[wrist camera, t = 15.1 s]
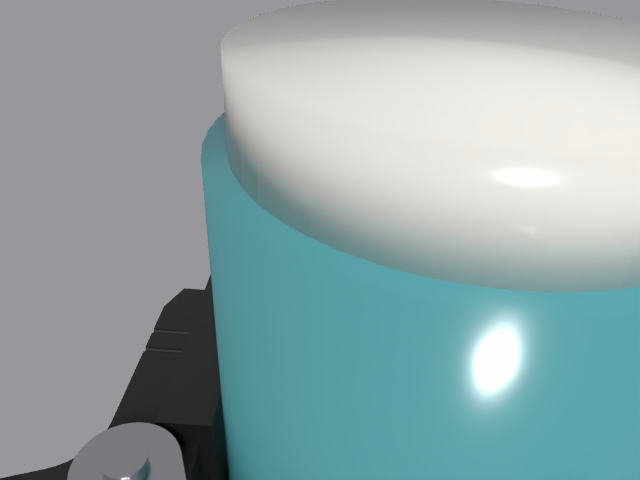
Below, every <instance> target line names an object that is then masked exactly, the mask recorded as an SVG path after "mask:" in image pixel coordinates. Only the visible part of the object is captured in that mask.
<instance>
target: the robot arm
mask: <svg viewBox="0 0 640 480" xmlns="http://www.w3.org/2000/svg"><path fill="white" fill-rule="evenodd" d="M0 480H229V477H228V465H227V454H226V442H225V431H224V419H223V407H222V396H221V384H220V373H219V361H218V350H217V338H216V327H215V315H214V304H213V292H212V280H211V275H210V278H209V280H208V283H207V286H206V288H205V290H198V289H183V290H182V291H181V292H180V293H179V294H178V295H176V296H175V297H174V298H173V299H172V300H171V301H170V302H169V303H168V304H166V305H165V306H164V308H163V310H162V312H161V315H160V317H159V319H158V321H157V323H156V325H155V328H154V333H152V334H151V336H150V339H149V341H148V343H147V345H146V351H145V352H143V354H142V356H141V359H140V361H139V363H138V365H137V367H136V369H135V372H134V374H133V376H132V378H131V380H130V383H129V385H128V387H127V389H126V391H125V394H124V396H123V398H122V400H121V403H120V405H119V407H118V409H117V411H116V413H115V416H114V418H113V420H112V422H111V424H110V426H109V428H108V429H107V430H106V431H103V432H102V433H100V434H98V435H97V436H95V437H94V438H93V439H91V440H90V441H89V442H88V443H87V444H86V445H85V446H84V447H83V448H82V449H81V450H80V451H79V452H78V454H77V455H76V456H75V458H74V459H72V460H70V461H68V462H66V463H63V464H60V465H58V466H55V467H51V468H47V469H44V470H39V471H34V472H29V473H24V474H19V475H15V476H10V477H6V478H1V479H0Z"/></svg>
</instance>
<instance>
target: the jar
mask: <svg viewBox="0 0 640 480" xmlns="http://www.w3.org/2000/svg"><path fill="white" fill-rule="evenodd" d="M221 58H222V74H223V92H224V109H225V113H223V114H222V115H221V116H220V117H219V118H218V119H217V120H216V121H215V122H214V124H213V125H212V126H211V128H210V129H209V130H208V132H207V134H206V137H205V139H204V142H203V144H202V154H201V165H202V177H203V187H204V200H205V211H206V223H207V234H208V245H209V257H210V269H211V280H212V292H213V304H214V315H215V327H216V338H217V350H218V361H219V373H220V384H221V396H222V407H223V419H224V431H225V442H226V454H227V465H228V477H229V480H640V22H638V21H633V20H628V19H623V18H618V17H613V16H608V15H602V14H596V13H590V12H585V11H578V10H571V9H564V8H558V7H550V6H542V5H534V4H524V3H515V2H505V1H492V0H333V1H324V2H315V3H309V4H303V5H297V6H291V7H287V8H282V9H277V10H274V11H271V12H267V13H264V14H260V15H258V16H255V17H253V18H250V19H248V20H245V21H244V22H242V23H240V24H238V25H237V26H235V27H234V28H232V29H231V30H230V31H229V32H228V33H227V34H226V35H225V37H224V39H223V41H222V43H221Z"/></svg>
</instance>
